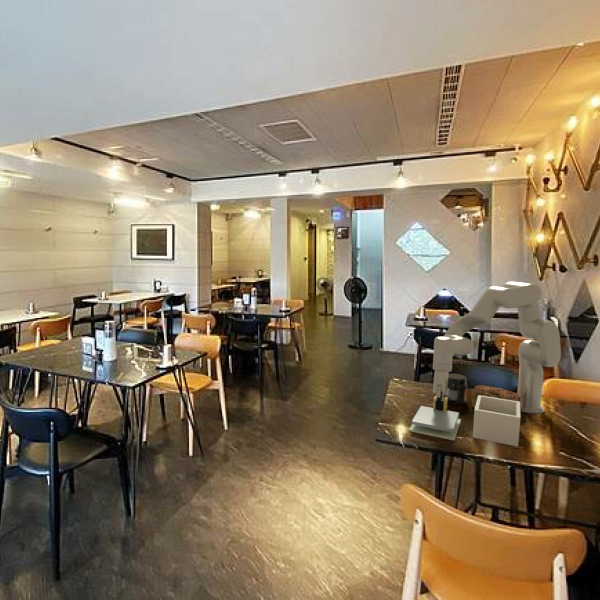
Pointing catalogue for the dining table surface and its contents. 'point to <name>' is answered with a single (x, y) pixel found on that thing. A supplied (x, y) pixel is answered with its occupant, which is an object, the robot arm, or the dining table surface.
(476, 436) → the open box
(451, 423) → the lid
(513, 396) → the bread
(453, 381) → the supplement container
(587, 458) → the dining table surface
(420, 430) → the mat
